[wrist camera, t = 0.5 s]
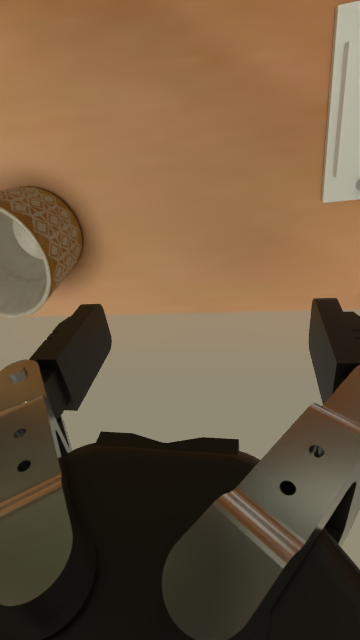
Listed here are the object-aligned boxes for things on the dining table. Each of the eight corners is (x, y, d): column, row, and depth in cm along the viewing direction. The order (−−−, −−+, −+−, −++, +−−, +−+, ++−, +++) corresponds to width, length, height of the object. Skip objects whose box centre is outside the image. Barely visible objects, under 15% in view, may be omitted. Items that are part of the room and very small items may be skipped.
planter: (15, 152, 37) (-56, 166, 29) (109, 225, 40) (71, 258, 31) (-18, 237, 44) (-84, 269, 35) (65, 295, 46) (23, 338, 38)
